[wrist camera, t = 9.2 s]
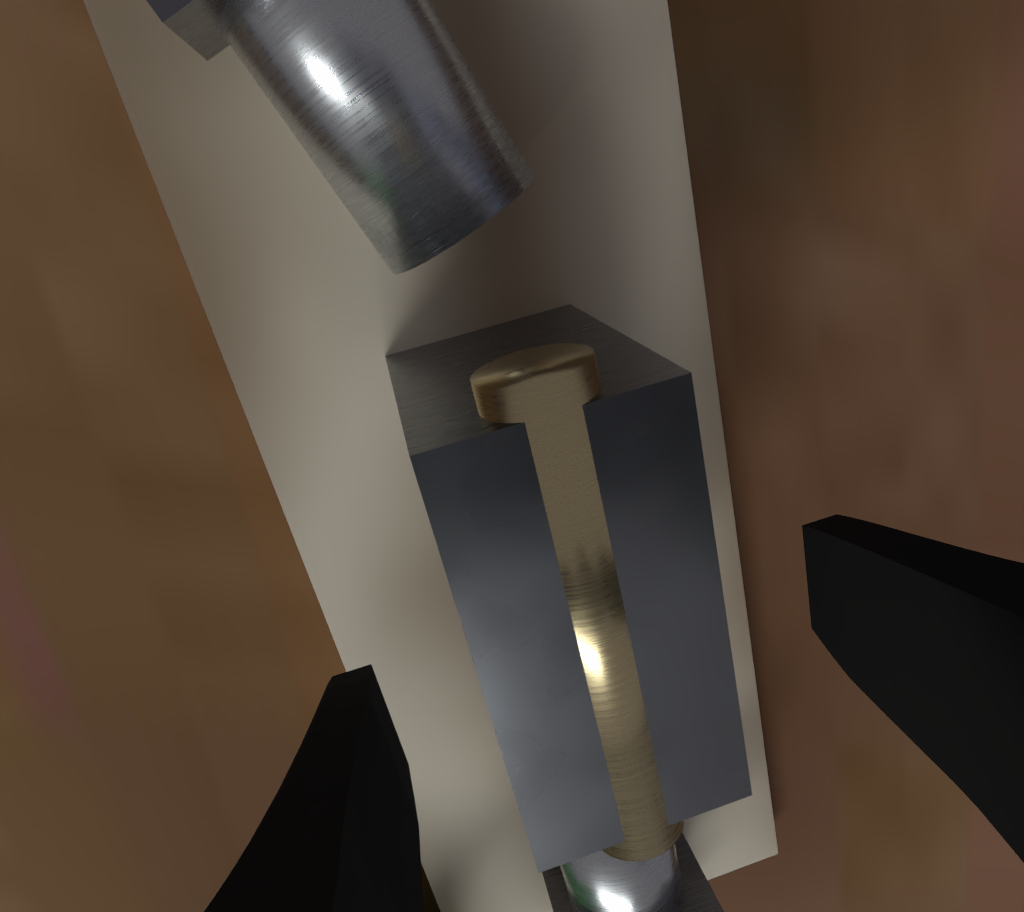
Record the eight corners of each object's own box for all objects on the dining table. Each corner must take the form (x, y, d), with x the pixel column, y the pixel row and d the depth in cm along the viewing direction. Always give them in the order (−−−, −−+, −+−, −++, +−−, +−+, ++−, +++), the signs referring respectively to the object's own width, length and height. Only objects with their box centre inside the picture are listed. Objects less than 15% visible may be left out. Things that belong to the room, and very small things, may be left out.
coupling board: (608, -307, 13) (624, -335, 12) (764, 832, 24) (778, 853, 23) (18, -196, 12) (-3, -220, 11) (460, 945, 23) (463, 971, 22)
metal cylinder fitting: (501, 738, 19) (534, 854, 16) (647, 688, 20) (707, 791, 17) (563, 941, 22) (601, 1073, 19) (688, 894, 23) (746, 1015, 20)
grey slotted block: (565, 280, 16) (689, 339, 10) (636, 630, 19) (757, 819, 14) (377, 332, 15) (399, 423, 10) (484, 681, 19) (546, 898, 13)
